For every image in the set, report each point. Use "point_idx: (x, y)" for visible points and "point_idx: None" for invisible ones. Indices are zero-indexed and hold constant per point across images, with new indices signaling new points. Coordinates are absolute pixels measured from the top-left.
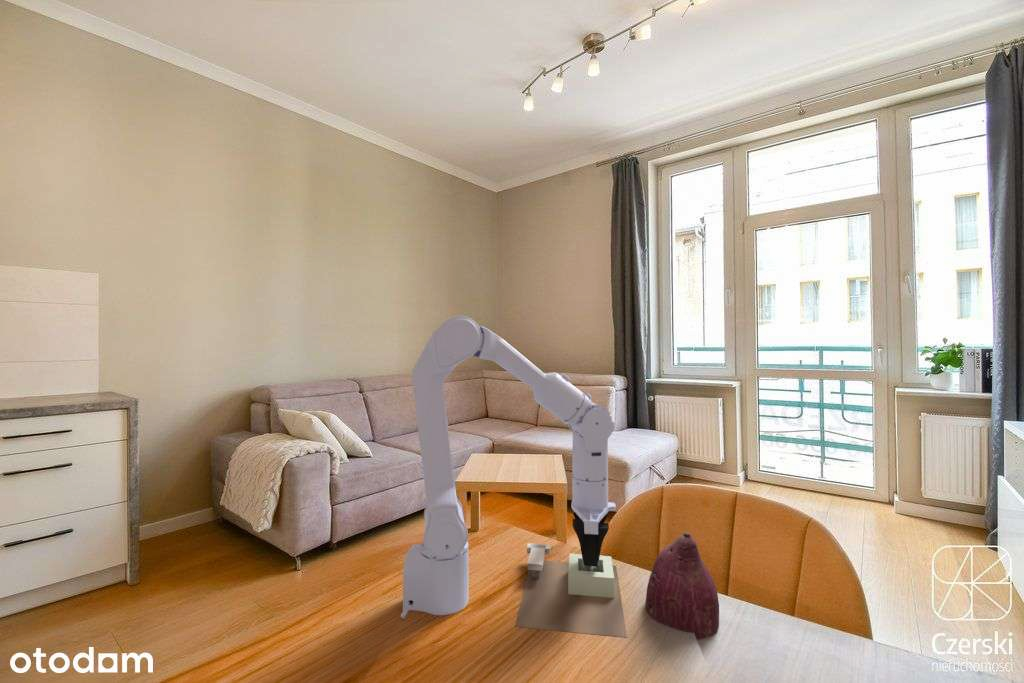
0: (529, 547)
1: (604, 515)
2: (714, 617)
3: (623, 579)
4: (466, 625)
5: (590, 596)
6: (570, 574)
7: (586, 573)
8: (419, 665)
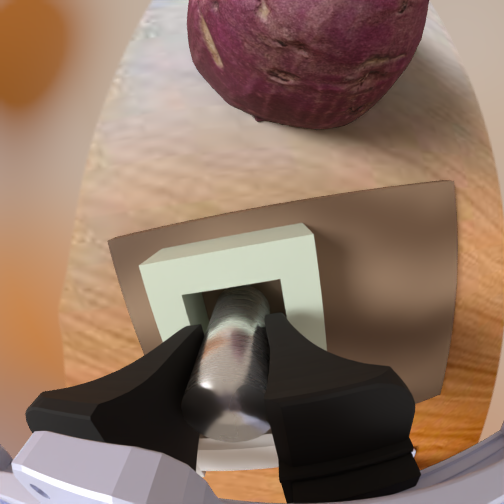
0: (203, 473)
1: (410, 497)
2: None
3: (148, 209)
4: (412, 443)
5: None
6: None
7: (306, 335)
8: (472, 434)
